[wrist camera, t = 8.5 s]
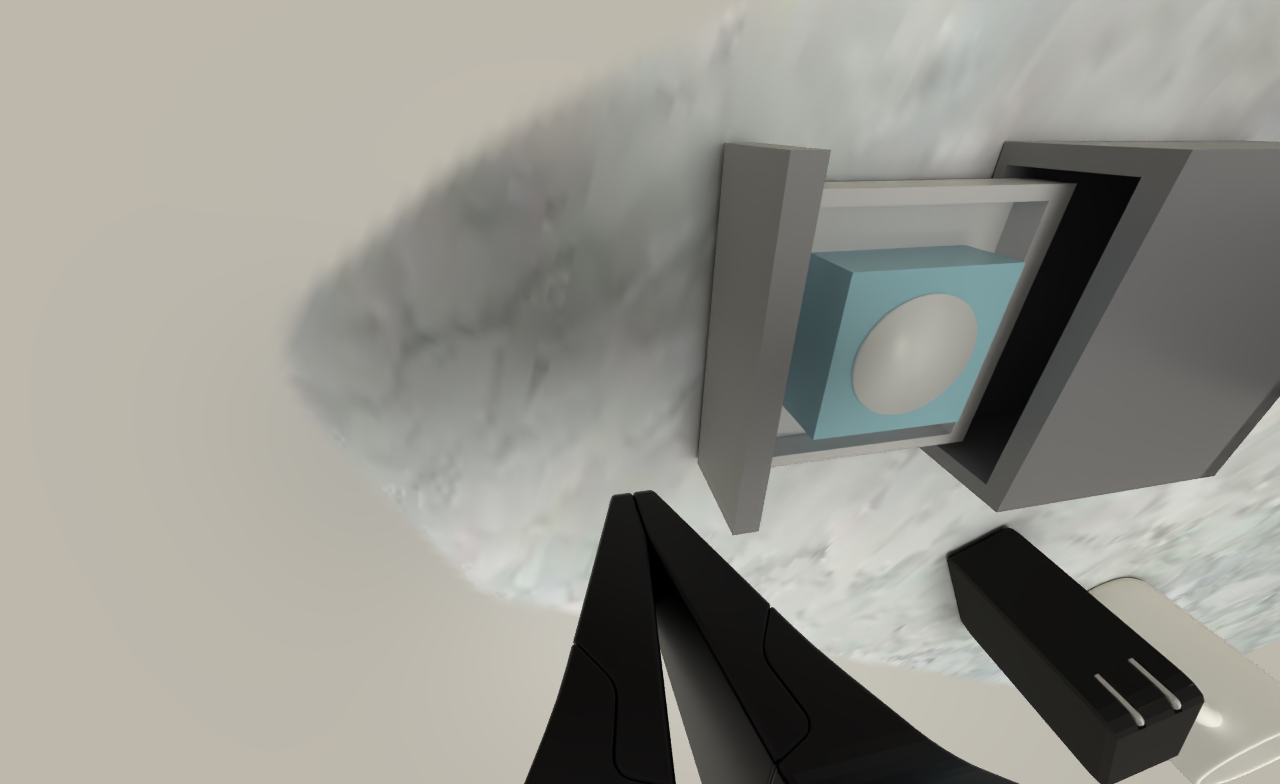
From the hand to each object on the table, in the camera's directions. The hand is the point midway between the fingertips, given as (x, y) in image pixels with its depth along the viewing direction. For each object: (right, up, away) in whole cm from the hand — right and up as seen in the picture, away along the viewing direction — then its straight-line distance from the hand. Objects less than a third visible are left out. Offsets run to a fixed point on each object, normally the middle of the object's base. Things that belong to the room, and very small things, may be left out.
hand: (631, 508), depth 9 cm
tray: (+9, +5, +9) cm, 14 cm away
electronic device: (+23, -10, +22) cm, 33 cm away
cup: (+35, -14, +27) cm, 47 cm away
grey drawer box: (+18, +6, +11) cm, 22 cm away
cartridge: (+9, +5, +8) cm, 13 cm away
